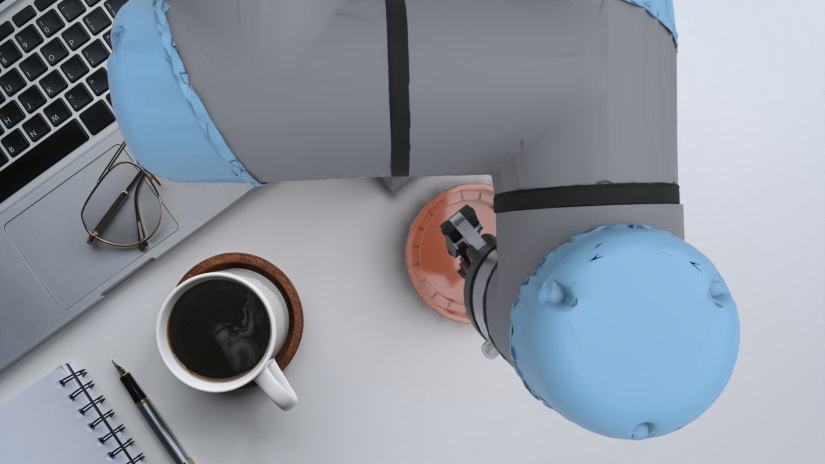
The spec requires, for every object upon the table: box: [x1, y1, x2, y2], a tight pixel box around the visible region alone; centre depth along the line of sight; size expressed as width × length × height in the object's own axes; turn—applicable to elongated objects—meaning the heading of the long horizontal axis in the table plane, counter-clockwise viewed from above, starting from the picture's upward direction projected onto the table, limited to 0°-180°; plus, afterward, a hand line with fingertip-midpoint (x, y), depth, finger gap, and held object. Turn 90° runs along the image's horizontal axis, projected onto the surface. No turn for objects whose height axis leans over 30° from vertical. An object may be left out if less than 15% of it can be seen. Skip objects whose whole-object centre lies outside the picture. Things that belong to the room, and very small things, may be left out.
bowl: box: [404, 183, 496, 325], centre depth 76 cm, size 16×16×6 cm
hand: (477, 274), depth 59 cm, fingers closed on stick, 1 cm apart
